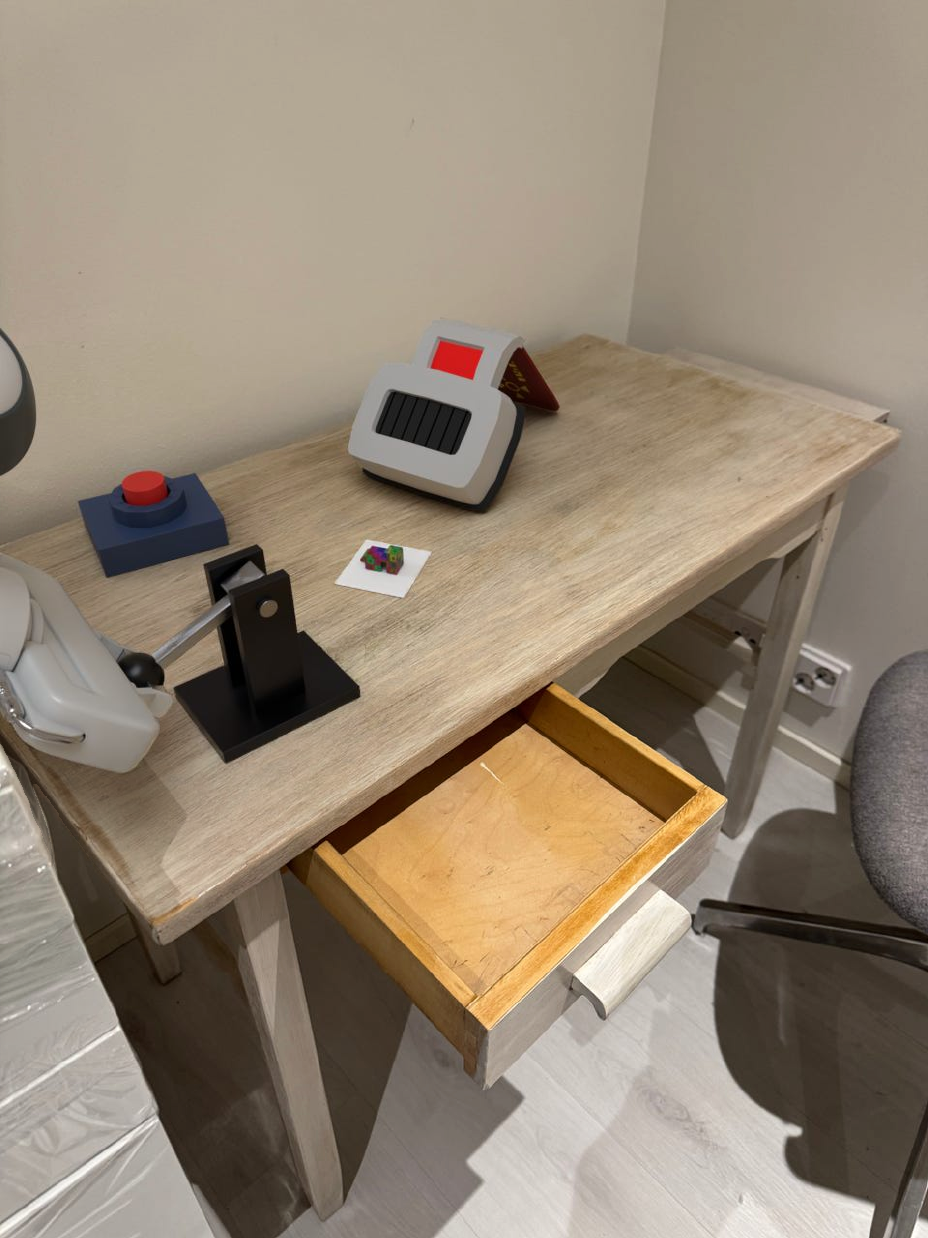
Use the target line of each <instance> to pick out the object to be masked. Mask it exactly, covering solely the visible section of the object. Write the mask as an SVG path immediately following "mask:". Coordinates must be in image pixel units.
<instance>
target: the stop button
mask: <svg viewBox="0 0 928 1238" xmlns="http://www.w3.org/2000/svg"><path fill="white" fill-rule="evenodd" d="M164 476H165V475H164V474H162V473H161V472H159V471H156V470H141V471H137V472H132V473H130V474H128V475H127V476H126V477H123V480H122V481H121V484H122V488H123V492H124V495H125V499H126V502H127V503H128V504H130V505H133V506H147V505H151V504H155V503H158V502H160V501H162V500H163V499H165V498H166V497H167V495H168V492H167V487H166V483H165V478H164Z"/></svg>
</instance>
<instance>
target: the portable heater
mask: <svg viewBox="0 0 928 1238" xmlns="http://www.w3.org/2000/svg"><path fill="white" fill-rule="evenodd" d="M525 342H526V341H525V339H524V338H523V337H522V336H521V335H520V334H516V333H512V332H509V331H506V330H502V329H498V328H494V327H489V326H484V325H480V324H475V323H471V322H466V321H462V320H458V319H451V318H444V317H440V318H439V319H436V320H434V321H432V322H431V324H429V326H428V327H427V328H426V329H425V330H424V331H423V332H422V334H421V337H420V339H419V341H418V344H417V347H416V349H415V352H414V354H413V358H412V361H411V363H406V362H401V361H385V362H383V363H382V364H381V365H380V366H379V367H378V369H377V370H376V372H375V374H374V376H373V377H372V379H371V380H370V382H369V384H368V386H367V388H366V391H365V393H364V395H363V399H362V401H361V403H360V406H359V409H358V411H357V413H356V416H355V418H354V421H353V423H352V426H351V430H350V435H349V440H348V445H347V452H348V453H349V455H350V456H351V457H352V459H353V460H354V461H355V463H356V464H357V465H358V466H360V467H361V468H362V474H364V475H365V476H366V477H368V478H370V479H373V480H375V481H377V482H380V483H382V484H385V485H389V486H392V487H394V488H397V489H401V490H404V491H407V492H409V493H411V494H414V495H415V494H416V495H418V496H422V497H425V498H429V499H430V500H431V499H432V500H435V501H438V502H442V503H445V504H448V505H452V506H455V507H458V508H461V509H465V510H470V511H475V512H486V511H487V510H488V509H489V508H490V507H491V505H492V503H493V502H494V500H495V499H496V497H497V495H498V494H499V492H500V491H501V488H502V487H503V484H504V483H505V480H506V478H507V475H508V472H509V470H510V467H511V465H512V462H513V459H514V457H515V454H516V452H517V450H518V447H519V444H520V441H521V439H522V434H523V429H524V424H525V418H526V407H525V406H524V405H526V406H530V407H534V408H538V409H542V410H545V411H549V412H558V411H559V410H560V408H561V406H560V403H559V402H558V400H557V398H556V396H555V395H554V393H553V391H552V389H551V388H550V387H549V385H548V383H547V382H546V381H545V379H544V377H543V375H542V374H541V372H540V371H539V369H538V367H537V366H536V364H535V363H534V361H533V360H532V358H531V357H530V355H529V354H528V352H527V350H526V348H525V347H524V344H525Z"/></svg>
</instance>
